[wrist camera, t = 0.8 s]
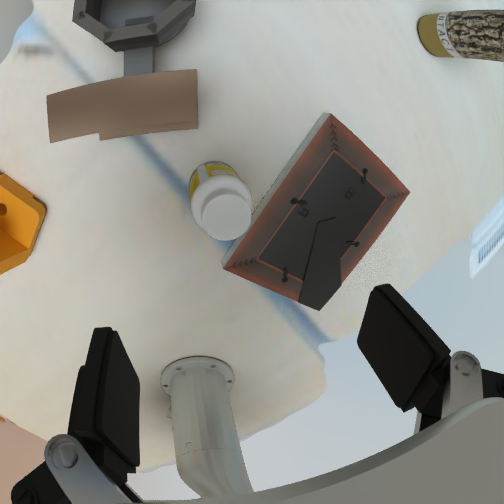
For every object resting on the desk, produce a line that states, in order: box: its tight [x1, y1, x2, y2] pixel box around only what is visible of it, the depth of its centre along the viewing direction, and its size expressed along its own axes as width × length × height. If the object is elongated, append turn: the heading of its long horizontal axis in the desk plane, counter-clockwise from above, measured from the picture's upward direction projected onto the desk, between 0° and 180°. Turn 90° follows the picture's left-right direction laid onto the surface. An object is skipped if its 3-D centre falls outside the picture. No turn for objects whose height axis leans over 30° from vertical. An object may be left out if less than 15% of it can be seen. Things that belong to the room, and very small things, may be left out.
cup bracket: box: [47, 0, 198, 143], centre depth 16 cm, size 17×10×14 cm, turn 0°
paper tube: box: [418, 10, 504, 62], centre depth 15 cm, size 7×7×25 cm
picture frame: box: [221, 113, 410, 311], centre depth 35 cm, size 16×2×22 cm
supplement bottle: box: [189, 161, 252, 241], centre depth 27 cm, size 5×5×10 cm
